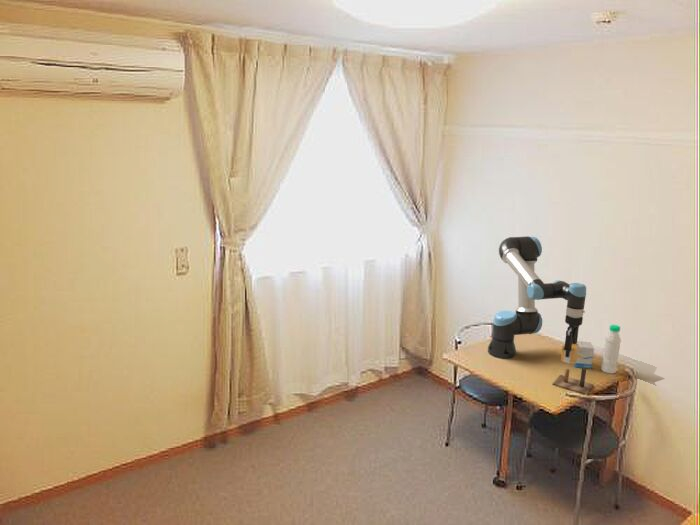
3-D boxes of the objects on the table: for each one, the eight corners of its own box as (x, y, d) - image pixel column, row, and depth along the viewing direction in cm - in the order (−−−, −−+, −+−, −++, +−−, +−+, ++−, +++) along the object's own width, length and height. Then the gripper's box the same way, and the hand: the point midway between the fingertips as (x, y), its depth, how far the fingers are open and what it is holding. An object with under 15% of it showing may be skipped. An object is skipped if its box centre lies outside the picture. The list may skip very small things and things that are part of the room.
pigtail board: (552, 384, 255) (554, 366, 252) (559, 376, 264) (562, 358, 261) (586, 395, 245) (589, 376, 243) (593, 385, 254) (596, 367, 252)
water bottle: (609, 375, 265) (616, 329, 259) (597, 369, 271) (604, 324, 265) (618, 372, 268) (626, 327, 262) (606, 366, 274) (613, 322, 268)
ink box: (591, 369, 272) (594, 348, 269) (574, 367, 274) (577, 346, 271) (588, 361, 280) (590, 341, 277) (571, 360, 282) (574, 340, 279)
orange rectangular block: (560, 361, 252) (562, 345, 251) (564, 357, 257) (566, 342, 255) (573, 364, 249) (575, 349, 247) (577, 360, 254) (578, 345, 252)
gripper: (577, 322, 238) (571, 369, 243) (587, 312, 252) (582, 356, 258) (560, 319, 242) (554, 364, 248) (571, 308, 257) (566, 352, 262)
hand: (568, 360), depth 253 cm, fingers closed on orange rectangular block, 6 cm apart
